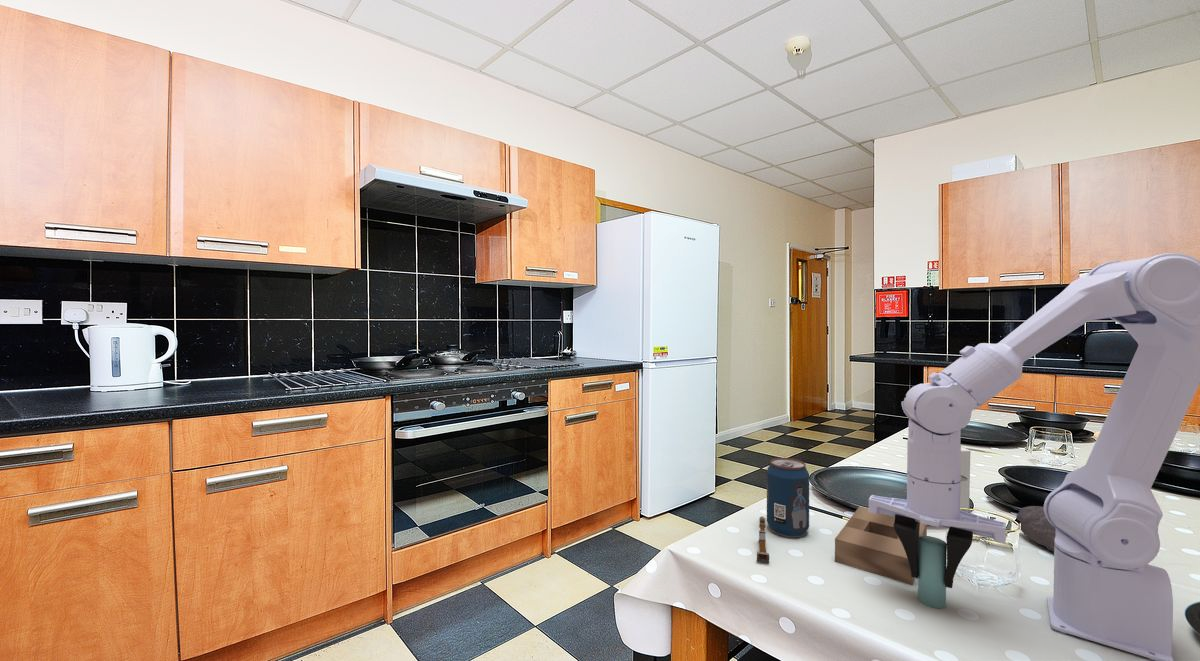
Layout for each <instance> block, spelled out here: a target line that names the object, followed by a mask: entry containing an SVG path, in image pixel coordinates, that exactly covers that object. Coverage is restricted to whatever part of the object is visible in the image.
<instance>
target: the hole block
mask: <svg viewBox="0 0 1200 661" xmlns="http://www.w3.org/2000/svg"><path fill="white" fill-rule="evenodd" d="M894 522H895V516H890V515H886V514H881V513H878V514H874V513H869V507H863V506H858V507H857V508H856V510H855V511H854V513H853V514H852V515H851V516H850V518H849V520H847V522H846V524H845V525H844V526H843V528H842V529H841V530H840V531H839V533H838V534H837V536H836V537H835V538H834V562H836V563H839V564H843V565H845V566H849V567H852V568H853V567H854V568H857V569H859V570H862V571H866V572H870V573H872V574H876V575H879V576H881V577H882V576H883V577H886V578H889V579H893V580H896V581H899V582H903V583H906V584H910V585H913V584H914V581H915V579H916V578H914V577H912V576H911V570H910V565H909V561H908V558H907V555H906V552H905V550H904V547H903V545H902V543H901V541H900V539H899V537H898V535H897V533H896V532H895V529H894ZM927 528H928V525H926V524H923V523H920V529H919V537H921V536H928V535H927V534H928V533H927V532H928V530H927Z"/></svg>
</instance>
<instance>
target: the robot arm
mask: <svg viewBox="0 0 1200 661" xmlns="http://www.w3.org/2000/svg"><path fill="white" fill-rule="evenodd" d="M1102 319H1103V320H1104V319H1111V320H1113V321H1115V322H1116V323H1118V324H1119V325H1121V326H1122V327H1123V328H1124V329H1125V330H1126V331H1127V332H1128V334H1130V336H1131V337H1132V338H1133V340H1135V342H1137V345H1138V346H1137V349H1136V351H1135V353H1134V355H1133V358H1132V359H1131V362H1130V365H1129V367H1128V369H1127V370H1126V374H1125V376H1124V377H1123V379H1122V382H1121V383H1120V387H1119V389H1118V391H1117V393H1116V396H1115V398H1114V400H1113V402H1112V405H1111V407H1110V409H1109V411H1108V414H1107V416H1106V418H1105V420H1104V422H1103V425H1102V427H1101V429H1100V432H1099V434H1098V436H1097V439H1096V441H1095V443H1094V445H1093V447H1092V449H1091V451H1090V454H1089V456H1088V458H1087V460H1086V463H1085V464H1084V465H1082V466H1081V467H1078V468H1076V469H1074V470H1073V471H1070V472H1067V474H1066V475H1065V478H1064V480H1063V482H1062V483H1061V484H1060V485H1059V486H1058V487H1057V488H1055V489H1054V490H1052V491H1051V492H1050V493H1049V494H1048V495H1047V496H1046V498H1045V500H1044V504H1043V507H1044V513H1045V516H1046V518H1047V519H1048V521H1049V522H1050V523H1051V524H1052V525H1053V526H1054V527H1055V528H1056V537H1055V540H1054V543H1055V545H1054V552H1053V556H1054V557H1053V595H1052V596H1048V595H1047V596H1046V604H1047V609H1048V615H1049V617H1048V618H1049V622H1050V627H1051V628H1052V629H1054V630H1055V631H1058V632H1061V633H1065V634H1068V635H1071V636H1074V637H1075V636H1076V637H1078V638H1082V639H1083V640H1088V641H1092V642H1095V643H1098V644H1102V645H1105V646H1109V647H1110V648H1115V649H1117V650H1121V651H1125V652H1128V653H1130V654H1134V655H1137V656H1141V657H1144V658H1148V659H1151V660H1155V661H1174V658H1173V623H1174V598H1173V597H1174V595H1173V588H1172V587H1173V586H1172V583H1171V579H1170V575H1169V574H1168V571H1167V570H1166V569H1164V568H1163V567H1162V568H1161V567H1159V566H1155V565H1153V564H1149V563H1152V562H1153V561H1154V559H1155V558H1156V557H1157V556H1158V554H1159V552H1160V549H1161V548H1160V547H1161V540H1160V535H1159V525H1160V522H1161V520H1162V518H1163V511H1162V509H1161V507H1160V505H1159V503H1158V502H1157V500H1156V498H1155V496H1154V494H1153V492H1152V486H1153V485H1154V482H1155V480H1156V478H1157V476H1158V474H1159V471H1160V470H1161V467H1162V465H1163V463H1164V462H1165V459H1166V457H1167V454H1168V453H1169V450H1170V448H1171V445H1172V443H1173V442H1174V440H1175V437H1176V436H1177V433H1178V431H1179V429H1180V426H1181V425H1182V422H1183V421H1184V418H1185V416H1186V415H1187V414H1186V413H1187V412H1188V409H1189V407H1190V405H1191V403H1192V401H1193V399H1194V397H1195V394H1196V392H1197V391H1198V388H1199V386H1200V260H1199V259H1197V258H1195V257H1194V256H1191V255H1187V254H1185V253H1184V254H1183V253H1177V252H1168V253H1165V252H1164V253H1161V254H1156V255H1154V256H1151V257H1142V258H1139V259H1137V258H1136V259H1131V260H1124V261H1120V260H1117V261H1116V260H1115V261H1109V262H1105V263H1102V264H1099V265H1097V266H1095V267H1094V268H1092V269H1091V270H1089V272H1088V273H1087V274H1086V275H1083V276H1080V277H1079V278H1077V279H1075V280H1073V281H1072V282H1071V283H1069V284H1068V286H1066V287H1065V288H1064V289H1063V290H1062V291H1061V292H1060V293H1059V294H1058V295H1056V296H1055V297H1054V298H1052V299H1051V300H1050V301H1049V302H1048V303H1046V304H1044V305H1043V306H1042V308H1040V309H1039V310H1038V311H1036V312H1035V313H1034V314H1032V315H1031V316H1029V318H1028V319H1026V320H1025V321H1024V322H1023V323H1021V324H1020V325H1018V327H1016V328H1015V329H1013V331H1011V332H1010V333H1009V334H1007V335H1006V336H1005V337H1004V338H1003V339H1002V340H1000V341H999V342H997V343H990V342H988V343H987V342H982V343H981V342H980V343H978V344H977V345H975V346H971V345H966V346H965V347H964V348H962V349H961V350H959V354H960V355H961V356H960V357H959V358H957V359H956V360H955V361H954V362H952V363H951V364H949V365H948V366H947V367H945V368H944V369H942V370H941V371H940V372H938V373H937V372H935V371H933V372H932V373H931V374H929V375H928V376H927V377H928V378H927V379H929V380H930V382H924V383H919V384H916V385H914V386H912V387H911V388H909V390H908V391H907V392H906V394H905V397H904V399H903V401H901V407H902V408H901V409H902V411H903V413H904V414H905V416H906V417H907V418H908V428H907V429H908V437H907V442H906V444H907V445H906V447H907V448H906V449H907V452H906V453H907V454H906V455H907V457H906V459H907V463H906V473H907V474H906V499H905V498H895V497H887V496H880V495H879V496H878V495H874V494H871V495H870V496H869V498H868V509H869V513H874V514H878V513H881V514H886V515H890V516H895V522H894V529H895V532H896V533H897V535H898V537H899V539H900V541H901V543H902V545H903V547H904V550H905V552H906V555H907V558H908V561H909V565H910V570H911V576H912V577H914V578H915V579H917V580H918V554H919V529H920V523H923V524H926V525H927V526H931V527H938V528H939V527H940V528H943V529H948V532H947V534H946V538H945V539H946V540H945V542H946V544H947V555H946V576H945V587H946V588H948V589H953V586H954V585H953V584H954V579H955V575H956V572H957V569H958V567H959V565H960V563H961V561H962V559H963V558H964V556H965V555H966V553H967V552H968V551H969V550H970V547H971V546H972V543H973V538H974V536H979V537H983V538H988V539H992V540H993V541H994V542H996V543H1001V544H1006V540H1007V539H1006V538H1007V537H1006V534H1007V533H1006V532H1007V528H1006V526H1007V523H1006V522H1005V521H1004V522H1003V521H999V520H996V519H992V518H987V517H984V516H981V515H978V514H974V513H971V512H969V513H968V512H965V511H962V510H960V493H961V447H962V444H961V433H962V432H961V430H962V429H964V428H966V427H967V426H968V424H969V423H970V421H971V418H972V413H973V410H974V411H975V410H977V409H978V408H979V407H981V406H982V405H984V404H985V403H987V402H988V401H989V400H991V399H992V398H994V397H995V396H997V395H998V394H1000V393H1002V392H1003V391H1004V390H1005V389H1007V388H1008V387H1010V386H1011V385H1013V384H1014V383H1016V382H1017V381H1019V380H1020V379H1021V378H1022V375H1023V366H1024V363H1025V362H1027V361H1028V360H1029V359H1031V358H1032V357H1034V356H1035V355H1037V354H1039V353H1040V352H1042V351H1043V350H1045V349H1047V348H1048V347H1050V346H1051V345H1053V344H1055V343H1056V342H1058V341H1059V340H1061V339H1063V338H1064V337H1065V336H1067V335H1068V334H1071V333H1072V332H1073V331H1075V330H1076V329H1078V328H1079V327H1081V326H1084V325H1085V324H1087V322H1090V321H1095V320H1096V321H1097V320H1102Z"/></svg>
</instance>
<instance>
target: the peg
mask: <svg viewBox="0 0 1200 661" xmlns="http://www.w3.org/2000/svg"><path fill="white" fill-rule="evenodd" d="M946 568H947V541H945V540H943V539H941V538H938V537H934V536H930V535H929V536H928V535H927V536H921V537H919V554H918V579H917V583H918V584H917V599H918V600H919V602H920V603H922V604H923V605H925V606H927V607H930V608H934V609H944V608H946V607H947V587H945V576H946Z"/></svg>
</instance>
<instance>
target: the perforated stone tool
mask: <svg viewBox="0 0 1200 661" xmlns="http://www.w3.org/2000/svg"><path fill="white" fill-rule="evenodd" d="M1016 514H1017V515H1016V516H1015V520H1016V519H1017V520H1019V521H1020V523H1021V529H1020V530H1021V532H1022V533H1023V534H1024V535H1025V536H1026V537H1027V538H1028V539H1030V540H1031V541H1032V542H1034V543H1036V545H1037V544H1038V545H1041V546H1044V547H1046V548H1047V550H1048V551H1050V552H1052V553H1054V545H1055V543H1054V540H1055V537H1056V528H1055V527H1054V526H1053V525H1052V524H1051V523H1050V522H1049V521H1048V519H1047V518H1046V516H1045V513H1044V506H1041V505H1040V506H1039V505H1030V506H1025V507H1021V508H1020V510H1019V512H1017V513H1016Z"/></svg>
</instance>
